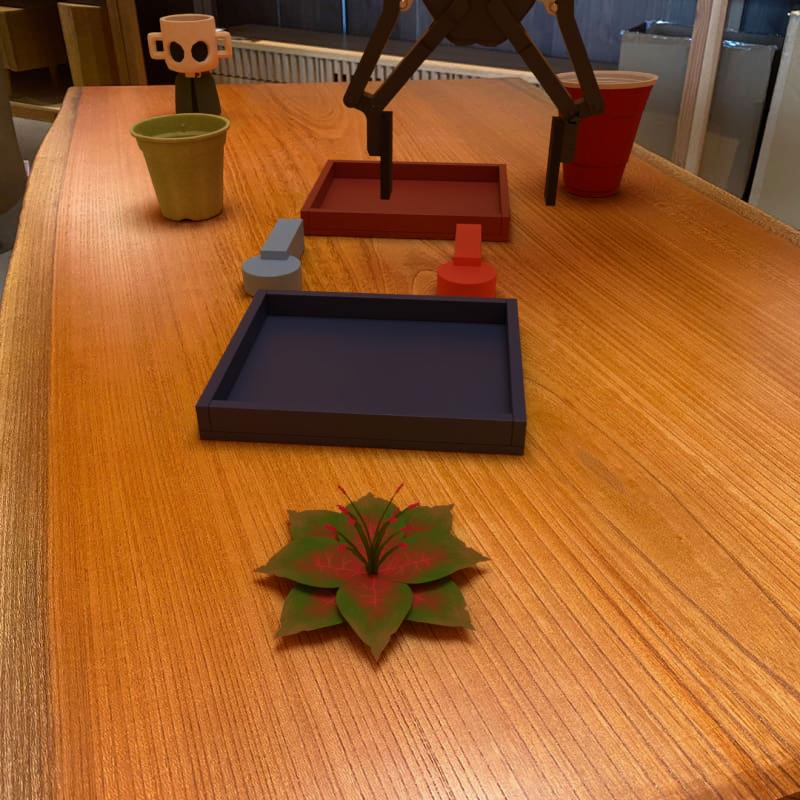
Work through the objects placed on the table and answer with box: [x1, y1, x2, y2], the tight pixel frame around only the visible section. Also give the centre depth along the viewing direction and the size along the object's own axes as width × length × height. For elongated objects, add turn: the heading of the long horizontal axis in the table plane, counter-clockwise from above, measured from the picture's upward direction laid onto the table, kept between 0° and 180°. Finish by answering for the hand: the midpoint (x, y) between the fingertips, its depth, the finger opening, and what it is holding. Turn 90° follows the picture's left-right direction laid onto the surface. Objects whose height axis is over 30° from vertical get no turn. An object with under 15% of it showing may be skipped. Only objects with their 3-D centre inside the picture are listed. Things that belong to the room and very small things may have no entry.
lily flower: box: [251, 482, 493, 662], centre depth 40 cm, size 12×12×5 cm
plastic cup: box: [555, 70, 659, 198], centre depth 88 cm, size 11×11×12 cm
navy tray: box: [194, 289, 528, 456], centre depth 57 cm, size 20×17×2 cm
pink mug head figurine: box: [147, 13, 234, 116], centre depth 113 cm, size 11×7×13 cm, turn 96°
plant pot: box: [128, 113, 231, 222], centre depth 83 cm, size 9×9×9 cm
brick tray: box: [299, 159, 512, 242], centre depth 85 cm, size 20×17×2 cm
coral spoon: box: [436, 224, 498, 298], centre depth 71 cm, size 5×11×3 cm, turn 175°
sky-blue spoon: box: [241, 217, 306, 298], centre depth 72 cm, size 5×11×3 cm, turn 175°
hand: (467, 198), depth 70 cm, fingers open, 13 cm apart
